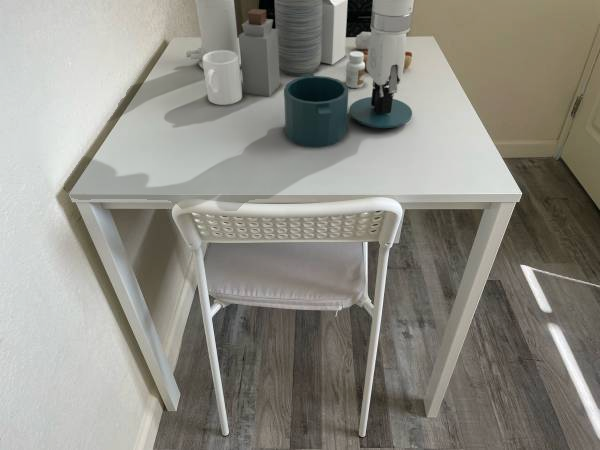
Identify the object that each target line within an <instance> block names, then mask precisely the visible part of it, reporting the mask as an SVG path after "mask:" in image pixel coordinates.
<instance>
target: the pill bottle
mask: <svg viewBox="0 0 600 450" xmlns="http://www.w3.org/2000/svg"><path fill="white" fill-rule="evenodd" d="M363 58H364V54H363V53H362V52H361V51H358V50H354V51H351V52H349V55H348V60H349V61H348V62H347V63H346V73H345V84H346V86H347V87H348V88H351V89H358V88H361V87H363V85H364V80H365V63H364V62H363Z"/></svg>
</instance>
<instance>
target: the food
mask: <svg viewBox="0 0 600 450" xmlns="http://www.w3.org/2000/svg"><path fill="white" fill-rule="evenodd" d="M360 52H362V53H363V54H364V58H363V62H364V63H365V70H366V71H367V68H366V63H367V55H368V50H361V51H360ZM412 57H413V53H412V52H411V51H406V50H405V61H404V69H403V71H405V70H407V69H408V68H410V66H411V63H412V60H413V59H412ZM365 70H364V71H365Z"/></svg>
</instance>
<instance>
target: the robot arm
mask: <svg viewBox="0 0 600 450" xmlns="http://www.w3.org/2000/svg"><path fill="white" fill-rule="evenodd" d="M194 1H195V6H196V14H197V20H198V27H199V34H200V40H201V45H200V47H197V48H196V49H194V48H193V49H191V48H190V49H185V54H186V58H190V59H191V60H198V65H199V67H200V68H201V69H202V70H204V67H203V61H202V58H203V56H204V55H205V54H207V53H209V52H213V51H218V50H227V51H232V52H235V53H236V54H237V55H238V56H239V66H240V68H242V67H241V57H240V47H239V37H238V30H237V19H236V8H235V0H194ZM414 3H415V0H372V7H371V17H370V19H371V20H370V32H371V35H370V41H369V48H368V49H367V51H368V55H367V63H366V68H367V70H366V71H367V73H368V75H369V76H370V77H371V78H372V90H371V91H372V93H371V97H372V99H371V105H372V106H375V97H376V90H377V89H380V93H379V96H378V97H377V106H376V113H377V114H385V113H390V112H391V107H392V100H393V99H394V96H395V94H397V93H398V85H400V84H401V82H402V80H403V75H404V70H403V69H404V61H405V51H406V49H407V48H406V47H407V33H409V32H410V30H411V23H412V16H413V10H414ZM384 88H385V89H384Z"/></svg>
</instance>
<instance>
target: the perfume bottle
mask: <svg viewBox="0 0 600 450" xmlns="http://www.w3.org/2000/svg"><path fill="white" fill-rule="evenodd" d="M246 15H247V20H246V21H245V22H243V23H242V24H241V27H242V29H243V32H241V33H240V34H239V35H238V47H239V53H240V57H241V67H240V68H241V76H242V78H241V79H242V89H243V93H244V94H251V95H257V96H264V97H271V96H272V95H273V93H274V92H275V91H276V90H277V89H278V87H280V85H281V84H280V66H279V56H278V31H277V29H276V28H273V23H274V19H272V18H271V19H270V18H267V9H260V8H259V9H258V8H252V9H251V10H249V11H247V13H246Z"/></svg>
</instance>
